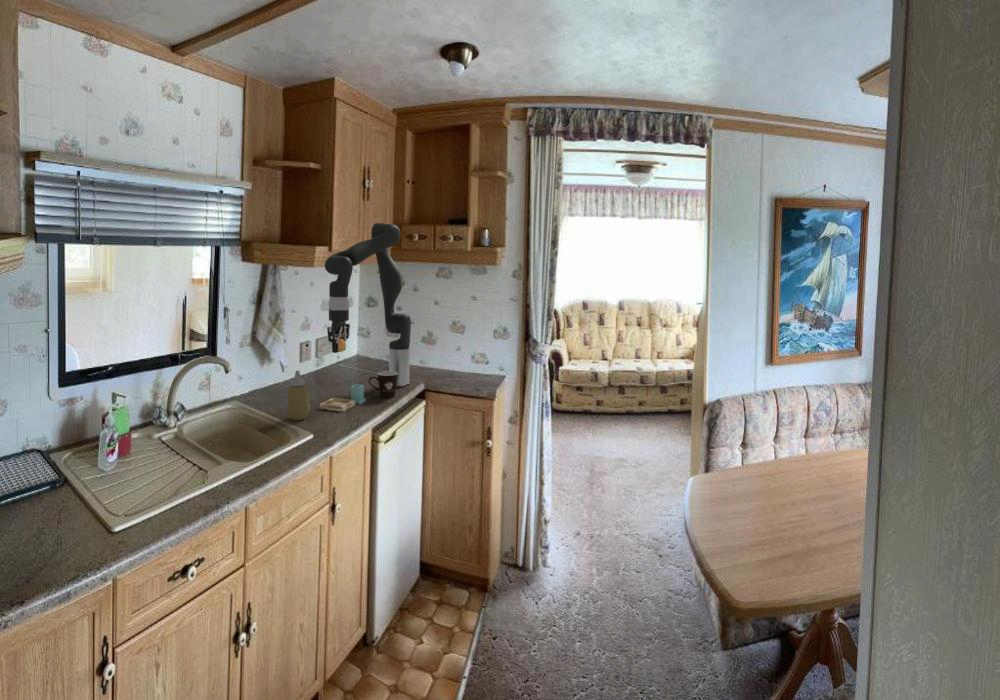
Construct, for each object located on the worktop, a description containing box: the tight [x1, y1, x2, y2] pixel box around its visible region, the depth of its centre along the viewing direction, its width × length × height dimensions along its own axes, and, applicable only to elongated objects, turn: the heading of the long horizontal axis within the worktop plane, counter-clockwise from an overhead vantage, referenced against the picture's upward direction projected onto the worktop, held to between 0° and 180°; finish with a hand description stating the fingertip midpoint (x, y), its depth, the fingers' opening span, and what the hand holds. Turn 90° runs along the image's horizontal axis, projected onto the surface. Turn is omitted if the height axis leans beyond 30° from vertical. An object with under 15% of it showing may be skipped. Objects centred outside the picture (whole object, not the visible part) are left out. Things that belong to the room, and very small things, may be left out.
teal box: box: [350, 383, 367, 405], centre depth 234 cm, size 5×5×7 cm
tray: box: [319, 397, 356, 412], centre depth 227 cm, size 10×10×2 cm
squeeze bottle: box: [286, 370, 311, 421], centre depth 210 cm, size 8×8×18 cm
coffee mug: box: [368, 370, 398, 399], centre depth 245 cm, size 12×9×10 cm
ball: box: [338, 338, 347, 353], centre depth 223 cm, size 6×6×6 cm
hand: (338, 351), depth 223 cm, fingers closed on ball, 5 cm apart
